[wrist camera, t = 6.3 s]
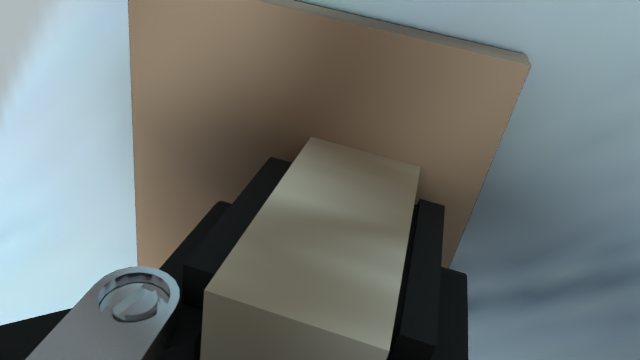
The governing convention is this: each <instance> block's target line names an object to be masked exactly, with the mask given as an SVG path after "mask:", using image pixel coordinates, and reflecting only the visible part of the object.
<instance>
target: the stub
mask: <svg viewBox="0 0 640 360" xmlns="http://www.w3.org/2000/svg"><path fill="white" fill-rule="evenodd" d="M128 14H129V41H130V69H131V97H132V124H133V152H134V180H135V207H136V235H137V263H138V267H141V266H145V267H151V268H157V269H159V268H160V267H161V266H162V265H163V264H164V263H165V261H166V260H167V259H168V258H169V257H170V256H171V255H172V253H173V252H174V251H175V250H176V249H177V248H178V246H179V245H180V244H181V243H182V242H183V241H184V240H185V238H186V237H187V236H188V235H189V234H190V233H191V231H192V230H193V229H194V228H195V227H196V226H197V225H198V223H199V222H200V221H201V220H202V219H203V218H204V216H205V215H206V214H207V213H208V212H209V211H210V210H211V208H212V207H213V206H214V205H215V204H216V203H217V202H218V201H224V202H228V203H231V204H232V203H233V202H234V201H235V200H236V198H237V197H238V196H239V195H240V193H241V192H242V191H243V190H244V189H245V187H246V186H247V185H248V184H249V182H250V181H251V180H252V179H253V177H254V176H255V175H256V174H257V172H258V171H259V170H260V169H261V168H262V166H263V165H264V164H265V163H266V161H267V160H268V159H269V158H270V157H274V158H278V159H281V160H285V161H288V162H292V165H291V166H290V168H289V169H288V170H287V172H286V173H285V175H284V176H283V178H282V179H281V180H280V182H279V183H278V185H277V186H276V188H275V189H274V191H273V192H272V193H271V195H270V196H269V198H268V199H267V201H266V202H265V203H264V205H263V206H262V208H261V209H260V211H259V212H258V214H257V215H256V216H255V218H254V219H253V221H252V222H251V224H250V225H249V226H248V228H247V229H246V231H245V232H244V234H243V235H242V236H241V238H240V239H239V241H238V242H237V244H236V245H235V247H234V248H233V249H232V251H231V252H230V254H229V255H228V257H227V258H226V259H225V261H224V262H223V264H222V265H221V267H220V268H219V270H218V271H217V272H216V274H215V275H214V277H213V278H212V280H211V281H210V282H209V284H208V285H207V287H206V288H205V290H204V302H203V319H202V335H201V352H200V360H386V359H387V356H388V353H389V350H390V344H391V339H392V333H393V327H394V321H395V315H396V309H397V303H398V297H399V291H400V285H401V279H402V274H403V268H404V262H405V256H406V250H407V244H408V238H409V232H410V226H411V220H412V214H413V209H414V204H418V202H419V199H423V200H426V201H430V202H434V203H437V204H441V205H444V206H445V214H444V230H443V246H442V262H441V267H444V268H449V266H450V263H451V261H452V259H453V256H454V254H455V251H456V249H457V246H458V244H459V241H460V239H461V236H462V234H463V232H464V229H465V227H466V224H467V222H468V219H469V217H470V214H471V212H472V209H473V207H474V205H475V202H476V200H477V197H478V195H479V192H480V190H481V187H482V185H483V182H484V180H485V177H486V175H487V173H488V170H489V168H490V165H491V163H492V160H493V158H494V155H495V153H496V150H497V148H498V146H499V143H500V141H501V138H502V136H503V133H504V131H505V128H506V126H507V123H508V121H509V119H510V116H511V114H512V111H513V109H514V106H515V104H516V101H517V99H518V96H519V94H520V92H521V89H522V87H523V84H524V82H525V79H526V77H527V74H528V72H529V69H530V67H531V64H530V62H529V60H528V58H527V56H526V55H525V54H521V53H517V52H512V51H508V50H504V49H500V48H495V47H491V46H487V45H482V44H478V43H474V42H470V41H465V40H461V39H457V38H452V37H448V36H444V35H440V34H435V33H431V32H427V31H422V30H418V29H414V28H410V27H405V26H401V25H397V24H392V23H388V22H384V21H380V20H375V19H371V18H367V17H362V16H358V15H354V14H350V13H345V12H341V11H337V10H332V9H328V8H324V7H320V6H315V5H311V4H307V3H302V2H298V1H294V0H128Z"/></svg>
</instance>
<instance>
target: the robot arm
mask: <svg viewBox="0 0 640 360" xmlns="http://www.w3.org/2000/svg"><path fill="white" fill-rule="evenodd" d="M291 165H292V162H288V161H285V160H281V159H278V158H274V157H270V158H269V159H268V160H267V161H266V163H265V164H264V165H263V166H262V168H261V169H260V170H259V171H258V172H257V174H256V175H255V176H254V177H253V179H252V180H251V181H250V182H249V184H248V185H247V186H246V187H245V189H244V190H243V191H242V192H241V193H240V195H239V196H238V197H237V198H236V200H235V201H234V202H233V203H232V204H231V203H228V202H224V201H218V202H217V203H216V204H215V205H214V206H213V207H212V208H211V210H210V211H209V212H208V213H207V214H206V215H205V216H204V218H203V219H202V220H201V221H200V222H199V223H198V225H197V226H196V227H195V228H194V229H193V230H192V231H191V233H190V234H189V235H188V236H187V237H186V238H185V240H184V241H183V242H182V243H181V244H180V245H179V246H178V248H177V249H176V250H175V251H174V252H173V253H172V255H171V256H170V257H169V258H168V259H167V260H166V261H165V263H164V264H163V265H162V266H161V267H160V268H159V269H157V268H151V267H145V266H141V267H128V268H124V269H120V270H116V271H114V272H112V273H110V274H108V275H106V276H104V277H103V278H102V279H101V280H99V281H98V282H97V283H96V284H95V285H94V286H93V287H92V288H91V289H90V290H89V291H88V292H87V293H86V294H85V295H84V296H83V298H82V299H81V300H80V301H79V302H78V303H77V304H76V305H75V306H74V307H73V308H71V309H67V310H63V311H59V312H54V313H50V314H46V315H42V316H38V317H34V318H30V319H26V320H22V321H17V322H13V323H9V324H5V325H1V326H0V360H200V352H201V335H202V319H203V302H204V290H205V288H206V287H207V285H208V284H209V282H210V281H211V280H212V278H213V277H214V275H215V274H216V272H217V271H218V270H219V268H220V267H221V265H222V264H223V262H224V261H225V259H226V258H227V257H228V255H229V254H230V252H231V251H232V249H233V248H234V247H235V245H236V244H237V242H238V241H239V239H240V238H241V236H242V235H243V234H244V232H245V231H246V229H247V228H248V226H249V225H250V224H251V222H252V221H253V219H254V218H255V216H256V215H257V214H258V212H259V211H260V209H261V208H262V206H263V205H264V203H265V202H266V201H267V199H268V198H269V196H270V195H271V193H272V192H273V191H274V189H275V188H276V186H277V185H278V183H279V182H280V180H281V179H282V178H283V176H284V175H285V173H286V172H287V170H288V169H289V168H290V166H291ZM444 214H445V206H444V205H441V204H437V203H434V202H430V201H426V200H423V199H419V202H418V204H414V209H413V214H412V220H411V226H410V232H409V238H408V244H407V250H406V256H405V262H404V268H403V274H402V279H401V285H400V291H399V297H398V303H397V309H396V315H395V321H394V327H393V333H392V339H391V344H390V350H389V353H388V356H387V359H386V360H468V302H467V276H466V274H464V273H461V272H458V271H454V270H451V269H448V268H444V267H441V262H442V246H443V230H444Z"/></svg>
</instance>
